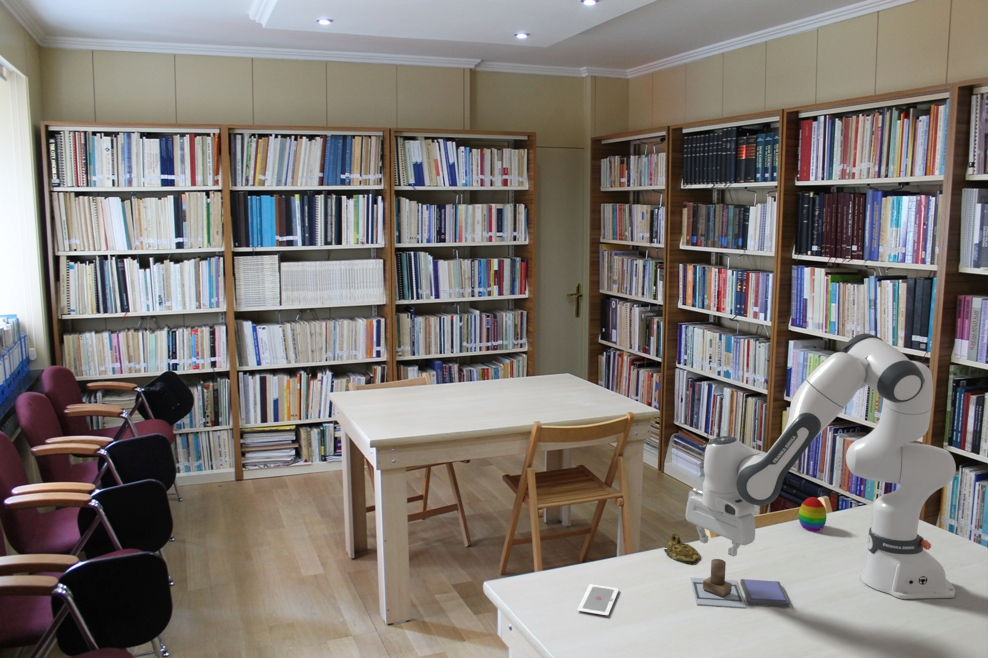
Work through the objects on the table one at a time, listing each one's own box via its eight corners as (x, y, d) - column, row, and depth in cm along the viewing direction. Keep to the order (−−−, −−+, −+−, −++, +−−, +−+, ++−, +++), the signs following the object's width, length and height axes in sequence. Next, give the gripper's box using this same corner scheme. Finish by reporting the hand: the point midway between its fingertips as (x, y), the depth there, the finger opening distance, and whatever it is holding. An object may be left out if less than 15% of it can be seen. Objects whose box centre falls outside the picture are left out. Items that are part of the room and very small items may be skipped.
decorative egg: (823, 534, 249) (825, 503, 247) (795, 529, 253) (797, 499, 251) (827, 526, 256) (829, 496, 254) (800, 521, 260) (802, 491, 258)
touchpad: (576, 614, 200) (576, 606, 199) (589, 587, 214) (589, 580, 213) (607, 619, 197) (608, 611, 197) (619, 592, 211) (619, 584, 211)
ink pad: (779, 585, 214) (779, 580, 214) (789, 607, 203) (789, 601, 202) (740, 583, 216) (740, 578, 215) (748, 604, 204) (748, 599, 204)
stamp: (731, 593, 209) (732, 563, 208) (723, 598, 207) (725, 567, 205) (710, 585, 214) (712, 556, 212) (702, 590, 211) (704, 560, 210)
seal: (707, 567, 228) (684, 545, 243) (710, 552, 228) (687, 530, 242) (677, 567, 226) (656, 544, 241) (679, 551, 226) (658, 529, 240)
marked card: (735, 581, 217) (735, 579, 217) (745, 608, 202) (745, 606, 202) (690, 578, 218) (690, 577, 218) (696, 604, 204) (696, 603, 204)
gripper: (681, 488, 214) (679, 537, 217) (743, 513, 198) (741, 566, 200) (697, 484, 218) (695, 532, 220) (760, 507, 201) (757, 559, 203)
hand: (717, 548), depth 210 cm, fingers open, 8 cm apart
